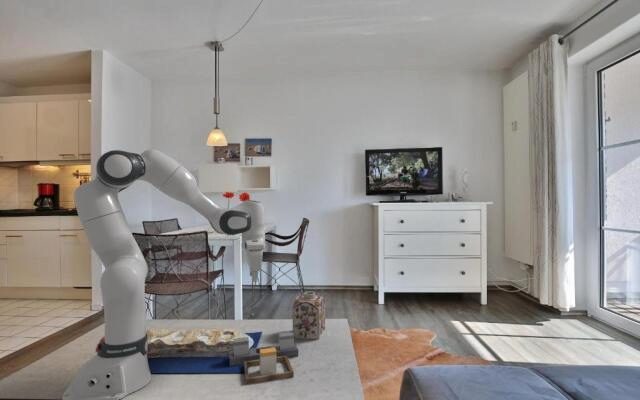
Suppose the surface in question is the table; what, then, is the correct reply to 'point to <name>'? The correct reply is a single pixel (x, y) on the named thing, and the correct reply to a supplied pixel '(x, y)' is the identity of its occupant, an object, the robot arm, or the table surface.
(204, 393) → the table surface
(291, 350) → the fuse holder
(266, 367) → the block
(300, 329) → the decorative jar
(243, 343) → the block
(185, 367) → the table surface
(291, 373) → the brown wooden frame
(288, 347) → the right fuse
